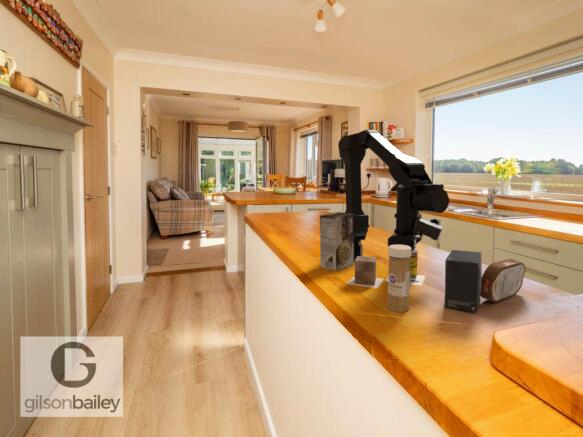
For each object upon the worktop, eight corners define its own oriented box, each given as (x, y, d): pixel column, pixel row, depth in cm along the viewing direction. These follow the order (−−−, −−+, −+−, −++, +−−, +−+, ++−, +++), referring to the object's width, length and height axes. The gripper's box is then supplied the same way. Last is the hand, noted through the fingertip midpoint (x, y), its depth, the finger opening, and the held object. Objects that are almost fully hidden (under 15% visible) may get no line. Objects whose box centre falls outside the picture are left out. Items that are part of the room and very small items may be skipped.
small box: (479, 313, 68) (479, 262, 67) (443, 308, 71) (443, 259, 70) (482, 296, 77) (482, 251, 76) (450, 292, 80) (450, 249, 79)
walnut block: (354, 283, 88) (354, 260, 87) (357, 277, 92) (357, 256, 92) (374, 285, 86) (374, 262, 85) (376, 279, 91) (376, 257, 90)
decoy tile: (345, 284, 88) (345, 283, 88) (355, 275, 95) (355, 275, 95) (376, 288, 84) (376, 288, 84) (384, 279, 91) (384, 278, 91)
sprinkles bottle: (383, 309, 72) (384, 246, 70) (392, 302, 75) (393, 242, 73) (404, 314, 69) (406, 249, 67) (413, 307, 72) (415, 245, 70)
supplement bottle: (407, 282, 87) (408, 243, 86) (390, 277, 92) (391, 240, 91) (421, 278, 90) (422, 241, 89) (404, 273, 95) (405, 237, 94)
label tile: (385, 281, 89) (385, 280, 89) (392, 272, 97) (392, 271, 97) (421, 286, 85) (421, 285, 85) (425, 276, 93) (425, 275, 93)
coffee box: (337, 261, 110) (337, 211, 108) (354, 264, 105) (354, 213, 103) (319, 267, 104) (318, 214, 101) (336, 271, 99) (336, 216, 97)
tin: (510, 289, 82) (514, 255, 80) (525, 293, 79) (529, 258, 78) (475, 302, 74) (480, 264, 72) (490, 307, 71) (495, 268, 70)
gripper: (437, 215, 77) (435, 281, 79) (444, 206, 93) (441, 262, 95) (387, 213, 82) (386, 275, 84) (402, 205, 98) (400, 258, 100)
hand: (406, 267), depth 91 cm, fingers open, 9 cm apart
